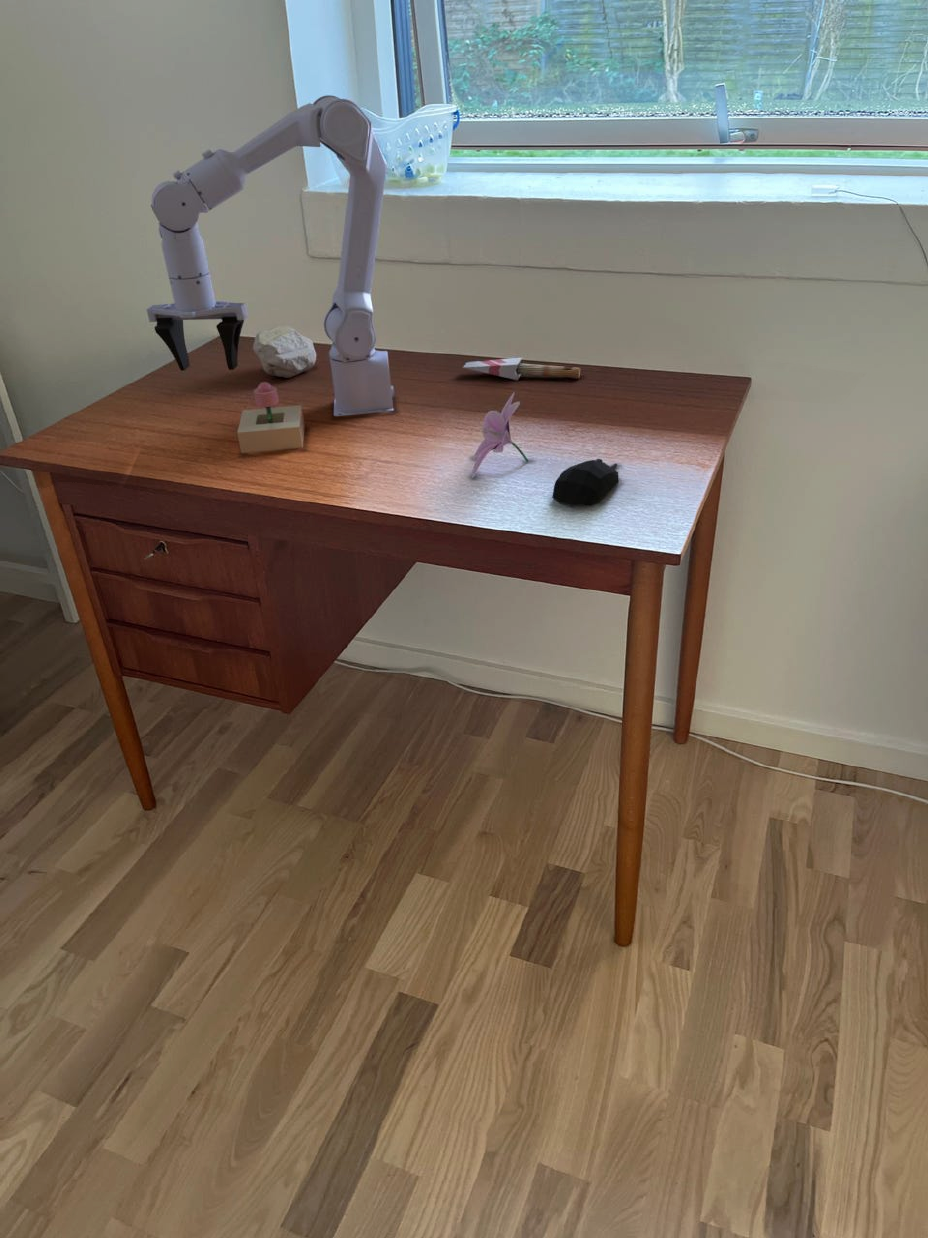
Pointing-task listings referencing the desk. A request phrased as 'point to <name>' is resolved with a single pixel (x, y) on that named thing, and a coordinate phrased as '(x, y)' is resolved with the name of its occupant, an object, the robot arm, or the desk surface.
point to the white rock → (284, 351)
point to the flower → (266, 398)
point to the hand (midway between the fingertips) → (209, 367)
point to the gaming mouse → (585, 483)
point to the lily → (496, 433)
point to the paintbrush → (521, 369)
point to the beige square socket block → (271, 429)
